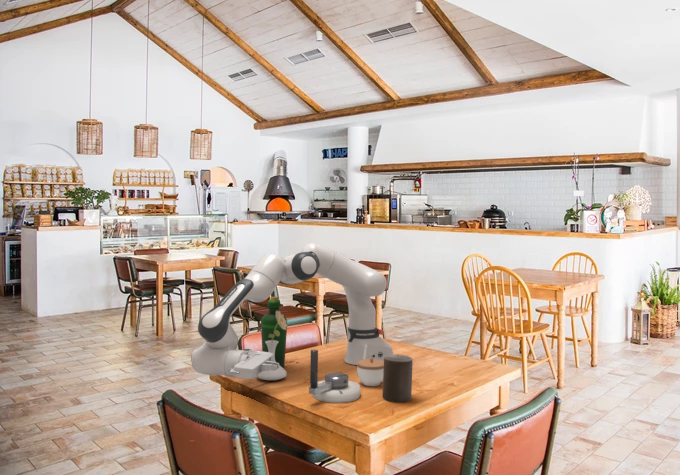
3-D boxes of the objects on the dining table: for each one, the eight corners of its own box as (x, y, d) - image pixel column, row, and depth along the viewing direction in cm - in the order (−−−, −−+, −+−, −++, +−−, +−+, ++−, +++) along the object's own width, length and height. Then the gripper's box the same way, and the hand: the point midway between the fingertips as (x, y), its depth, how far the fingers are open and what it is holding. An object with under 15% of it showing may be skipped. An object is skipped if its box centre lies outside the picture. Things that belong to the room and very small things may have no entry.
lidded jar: (365, 389, 203) (366, 363, 203) (351, 381, 213) (351, 356, 212) (391, 386, 208) (392, 360, 208) (376, 378, 218) (376, 353, 217)
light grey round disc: (351, 386, 207) (351, 377, 207) (366, 400, 192) (366, 391, 192) (307, 389, 202) (307, 380, 202) (320, 404, 187) (320, 394, 187)
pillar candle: (391, 404, 189) (392, 358, 188) (377, 395, 198) (378, 351, 197) (417, 400, 193) (418, 356, 192) (402, 392, 202) (403, 349, 201)
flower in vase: (273, 385, 207) (274, 315, 206) (249, 379, 213) (250, 312, 212) (295, 376, 218) (296, 310, 217) (271, 371, 224) (272, 307, 223)
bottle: (289, 364, 235) (290, 295, 233) (284, 371, 224) (284, 299, 223) (263, 363, 236) (264, 294, 234) (257, 370, 225) (257, 299, 224)
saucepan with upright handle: (334, 379, 203) (335, 340, 202) (353, 384, 198) (353, 343, 197) (302, 391, 189) (302, 349, 188) (321, 396, 184) (321, 353, 183)
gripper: (225, 362, 182) (267, 365, 180) (249, 347, 202) (287, 349, 199) (225, 382, 183) (267, 385, 180) (249, 365, 203) (287, 368, 200)
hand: (277, 366), depth 190 cm, fingers closed
